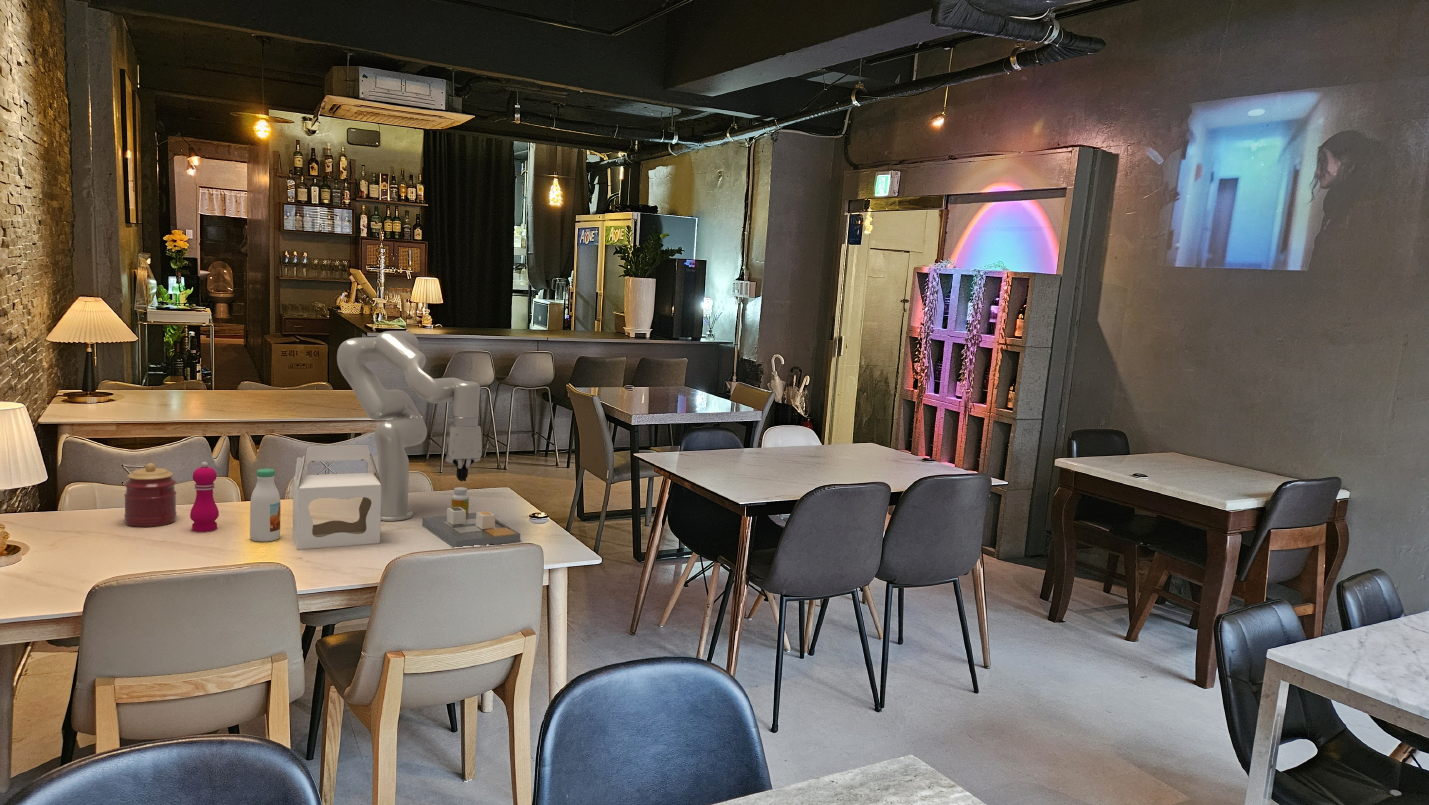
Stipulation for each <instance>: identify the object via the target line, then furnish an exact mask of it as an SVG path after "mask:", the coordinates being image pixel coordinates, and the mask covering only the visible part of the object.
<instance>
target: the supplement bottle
mask: <svg viewBox="0 0 1429 805" xmlns="http://www.w3.org/2000/svg"><path fill="white" fill-rule="evenodd" d="M453 493H454V494H453V495H452V496H451V507H450V508H455V507H461V508H462V509H464V510H466V514H467V513H469V507H470V506H469V504H470V503H469V501H470V496H469V495H468V494H467V493H468V488H466V487H463V486H462V487H458V486H456V487H454V488H453Z"/></svg>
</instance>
